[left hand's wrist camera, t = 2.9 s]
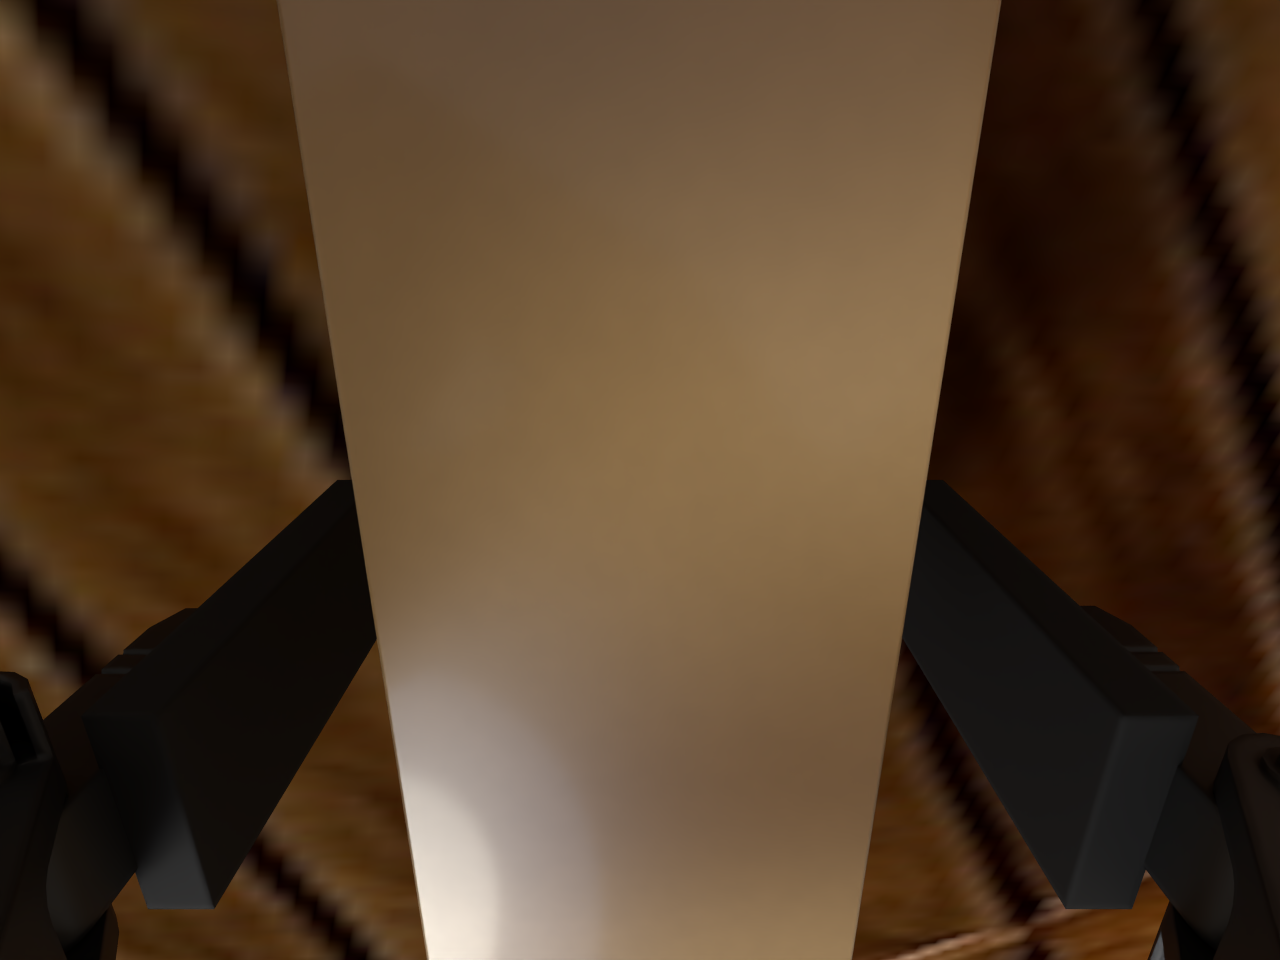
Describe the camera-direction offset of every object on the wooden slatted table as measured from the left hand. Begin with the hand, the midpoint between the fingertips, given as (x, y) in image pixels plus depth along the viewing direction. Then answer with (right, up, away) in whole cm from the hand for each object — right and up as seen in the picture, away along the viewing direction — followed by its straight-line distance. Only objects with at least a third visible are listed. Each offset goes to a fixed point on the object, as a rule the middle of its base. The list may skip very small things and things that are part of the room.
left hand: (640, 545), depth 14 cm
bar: (0, +8, -2) cm, 8 cm away
